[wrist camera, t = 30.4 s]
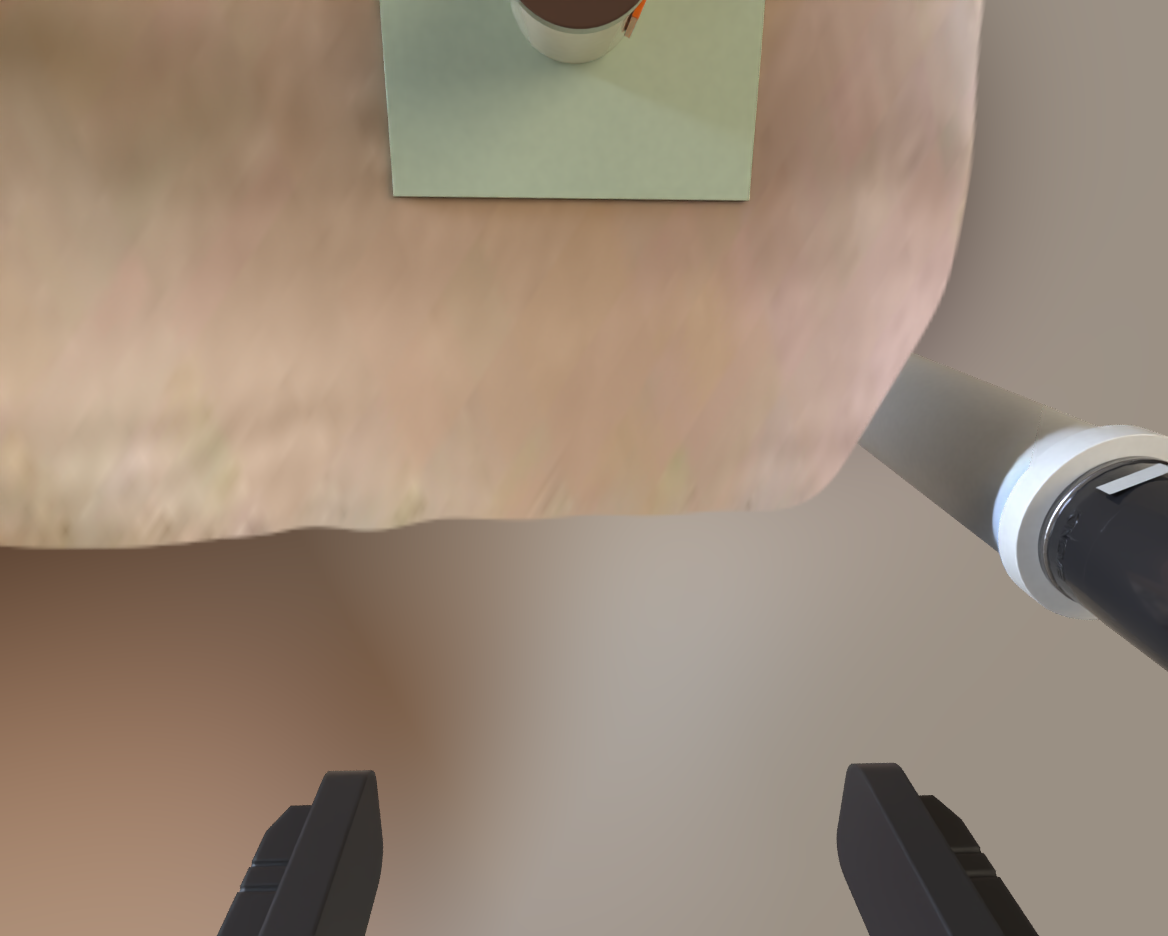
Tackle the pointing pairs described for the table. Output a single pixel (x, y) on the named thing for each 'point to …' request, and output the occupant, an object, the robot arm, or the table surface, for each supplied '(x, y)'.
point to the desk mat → (572, 104)
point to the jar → (576, 26)
